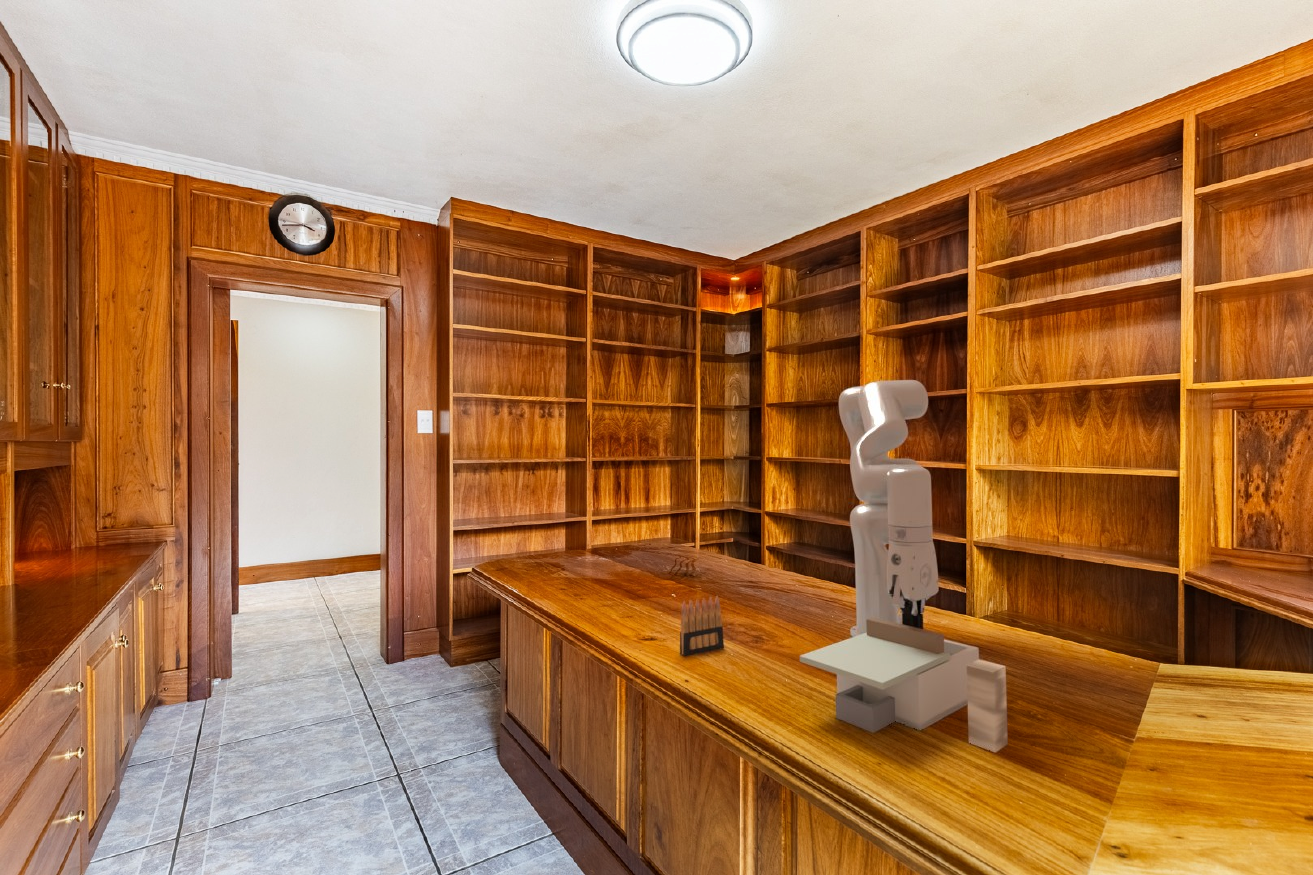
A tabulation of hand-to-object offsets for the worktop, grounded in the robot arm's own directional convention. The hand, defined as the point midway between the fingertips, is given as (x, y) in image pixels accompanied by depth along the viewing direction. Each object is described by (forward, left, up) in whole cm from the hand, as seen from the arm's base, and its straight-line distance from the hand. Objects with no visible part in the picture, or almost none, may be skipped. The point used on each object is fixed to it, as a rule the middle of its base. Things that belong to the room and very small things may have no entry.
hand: (913, 634), depth 115 cm
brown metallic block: (+8, +17, -11) cm, 22 cm away
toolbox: (+5, 0, -11) cm, 12 cm away
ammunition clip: (+13, -44, -12) cm, 47 cm away
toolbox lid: (+12, 0, -2) cm, 12 cm away
